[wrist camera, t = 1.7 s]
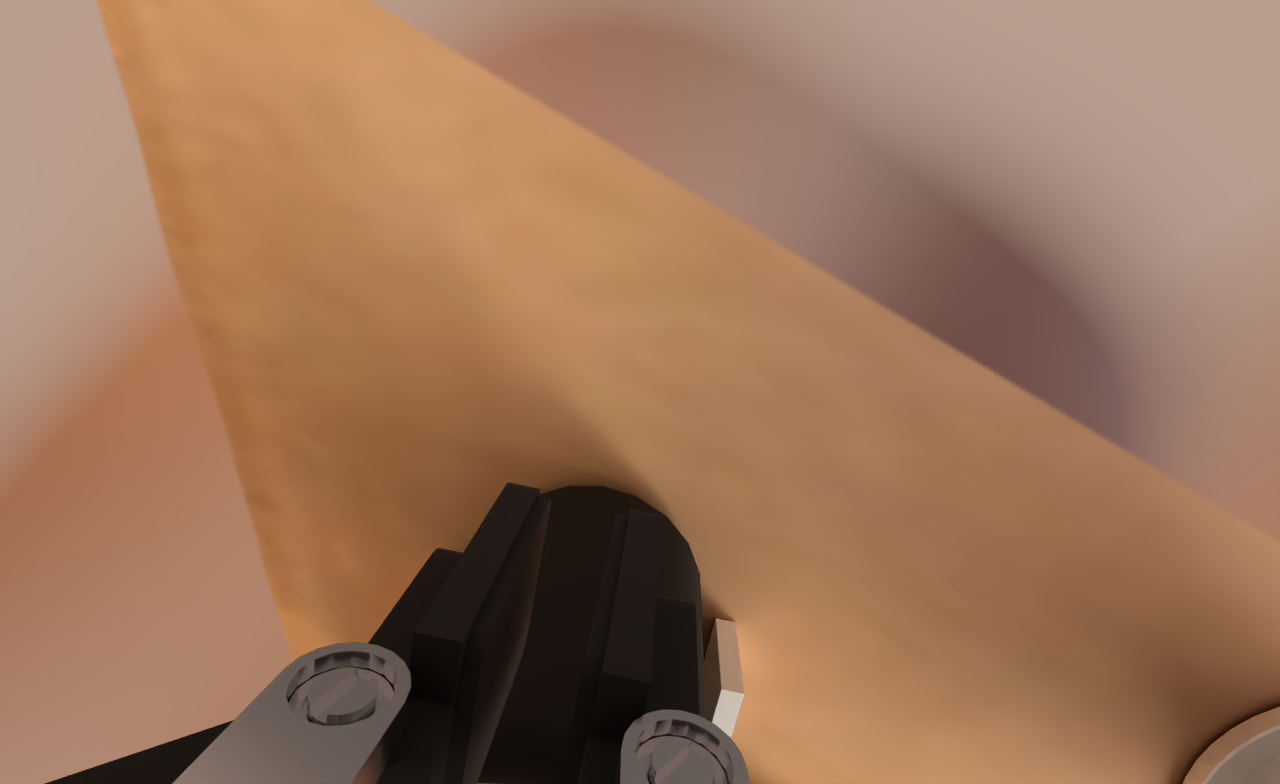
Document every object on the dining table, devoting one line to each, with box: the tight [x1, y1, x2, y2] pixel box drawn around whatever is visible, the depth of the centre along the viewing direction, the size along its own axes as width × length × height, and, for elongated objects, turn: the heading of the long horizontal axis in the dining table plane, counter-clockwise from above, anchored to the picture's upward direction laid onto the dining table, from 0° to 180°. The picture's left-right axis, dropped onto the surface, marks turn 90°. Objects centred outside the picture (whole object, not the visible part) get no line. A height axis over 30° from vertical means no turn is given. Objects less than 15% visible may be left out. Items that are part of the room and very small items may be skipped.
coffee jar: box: [477, 486, 707, 784], centre depth 24 cm, size 11×11×18 cm
